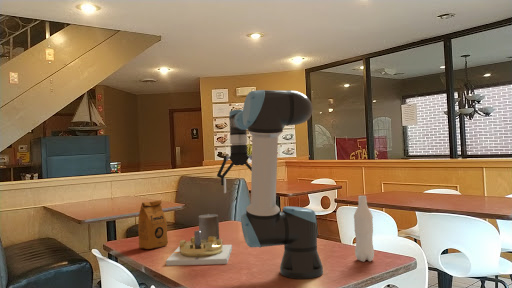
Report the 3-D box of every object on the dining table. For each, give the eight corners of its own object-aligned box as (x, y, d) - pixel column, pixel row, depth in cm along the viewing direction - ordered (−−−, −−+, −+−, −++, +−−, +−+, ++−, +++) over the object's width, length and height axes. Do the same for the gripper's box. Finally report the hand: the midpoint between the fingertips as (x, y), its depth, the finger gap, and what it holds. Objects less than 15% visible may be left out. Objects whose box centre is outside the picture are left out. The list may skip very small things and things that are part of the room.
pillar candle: (222, 241, 196) (221, 211, 197) (215, 246, 187) (213, 214, 188) (204, 241, 199) (202, 211, 200) (196, 246, 190) (194, 214, 190)
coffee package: (170, 246, 191) (169, 200, 191) (147, 251, 182) (146, 203, 182) (159, 243, 198) (157, 199, 198) (136, 248, 189) (135, 201, 189)
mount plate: (226, 263, 157) (226, 258, 157) (166, 265, 157) (166, 259, 158) (232, 249, 181) (231, 244, 181) (179, 250, 181) (179, 245, 181)
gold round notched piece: (220, 256, 160) (219, 231, 160) (175, 257, 160) (174, 232, 161) (224, 245, 178) (223, 223, 178) (184, 246, 178) (183, 224, 179)
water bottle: (351, 259, 158) (349, 195, 158) (367, 256, 160) (364, 194, 161) (362, 263, 151) (360, 197, 152) (378, 261, 154) (375, 196, 154)
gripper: (266, 143, 182) (268, 190, 181) (211, 145, 182) (213, 192, 182) (266, 143, 175) (268, 192, 174) (209, 145, 175) (211, 194, 174)
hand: (240, 192), depth 178 cm, fingers open, 13 cm apart
